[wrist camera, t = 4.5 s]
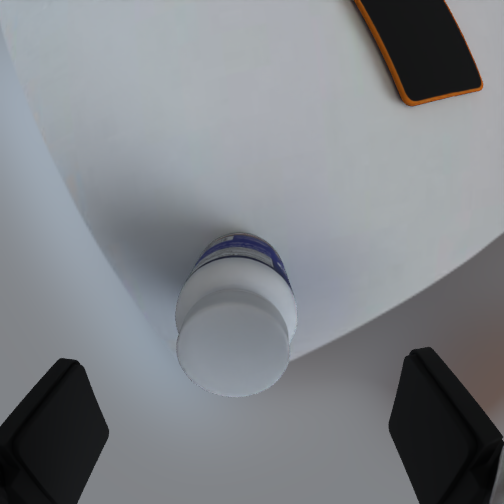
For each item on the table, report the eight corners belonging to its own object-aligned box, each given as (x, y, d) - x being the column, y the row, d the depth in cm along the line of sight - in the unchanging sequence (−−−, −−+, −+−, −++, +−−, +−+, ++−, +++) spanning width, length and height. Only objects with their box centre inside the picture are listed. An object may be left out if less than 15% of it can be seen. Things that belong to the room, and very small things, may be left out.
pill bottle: (281, 316, 20) (299, 412, 11) (197, 312, 20) (165, 406, 11) (287, 232, 19) (317, 287, 10) (196, 229, 18) (151, 281, 10)
